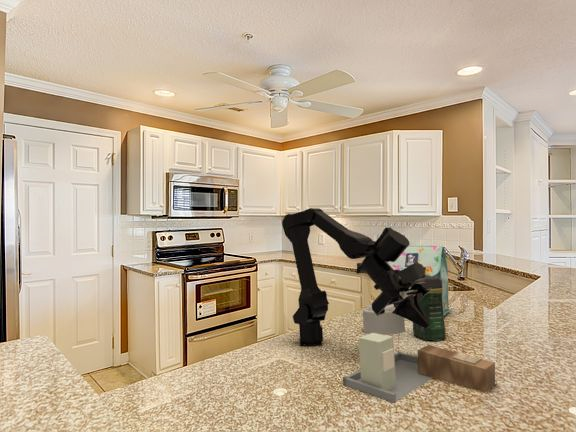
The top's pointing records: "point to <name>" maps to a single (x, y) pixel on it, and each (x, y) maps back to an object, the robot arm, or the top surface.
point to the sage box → (377, 360)
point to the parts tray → (405, 379)
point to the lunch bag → (427, 265)
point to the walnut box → (456, 368)
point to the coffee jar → (432, 311)
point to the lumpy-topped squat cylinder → (382, 321)
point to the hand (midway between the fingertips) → (428, 327)
